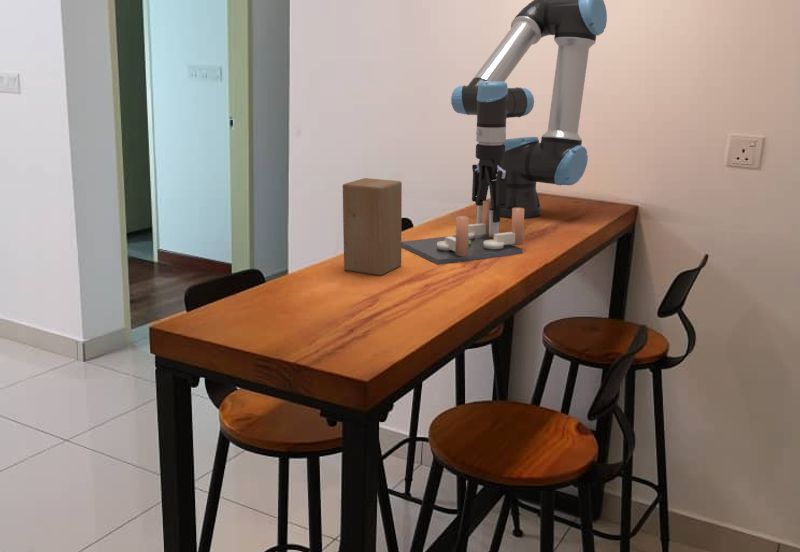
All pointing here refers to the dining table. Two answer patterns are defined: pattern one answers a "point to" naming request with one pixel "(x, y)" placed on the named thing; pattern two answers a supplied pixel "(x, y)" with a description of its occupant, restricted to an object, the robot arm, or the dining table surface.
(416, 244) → the base plate
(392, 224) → the wooden block
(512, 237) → the knob
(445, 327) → the dining table surface
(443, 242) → the knob
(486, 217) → the knob
